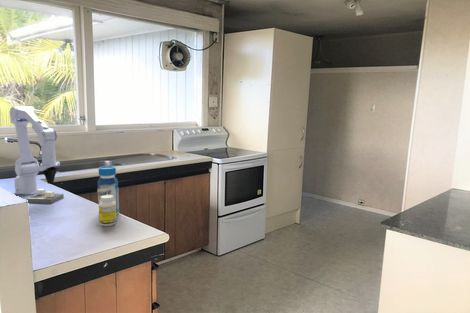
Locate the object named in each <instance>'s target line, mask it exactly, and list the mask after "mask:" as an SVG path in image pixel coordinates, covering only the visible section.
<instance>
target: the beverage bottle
mask: <svg viewBox="0 0 470 313" xmlns="http://www.w3.org/2000/svg"><path fill="white" fill-rule="evenodd" d="M116 169H117V168H116V166H112V165H107V166H100V167H99V168H98V176H99V179H98V180H97V189H96V190H97V197H98V198H97V200H98V202H97V203H98V204H99V203H100V202H101V196H103V195H113V197H114V199H113V201H115V203H116V215H118V214H119V213H120V200H119V198H120V196H119V190H120V189H119V181H118V179H117V177H116V174H117V170H116Z"/></svg>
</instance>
